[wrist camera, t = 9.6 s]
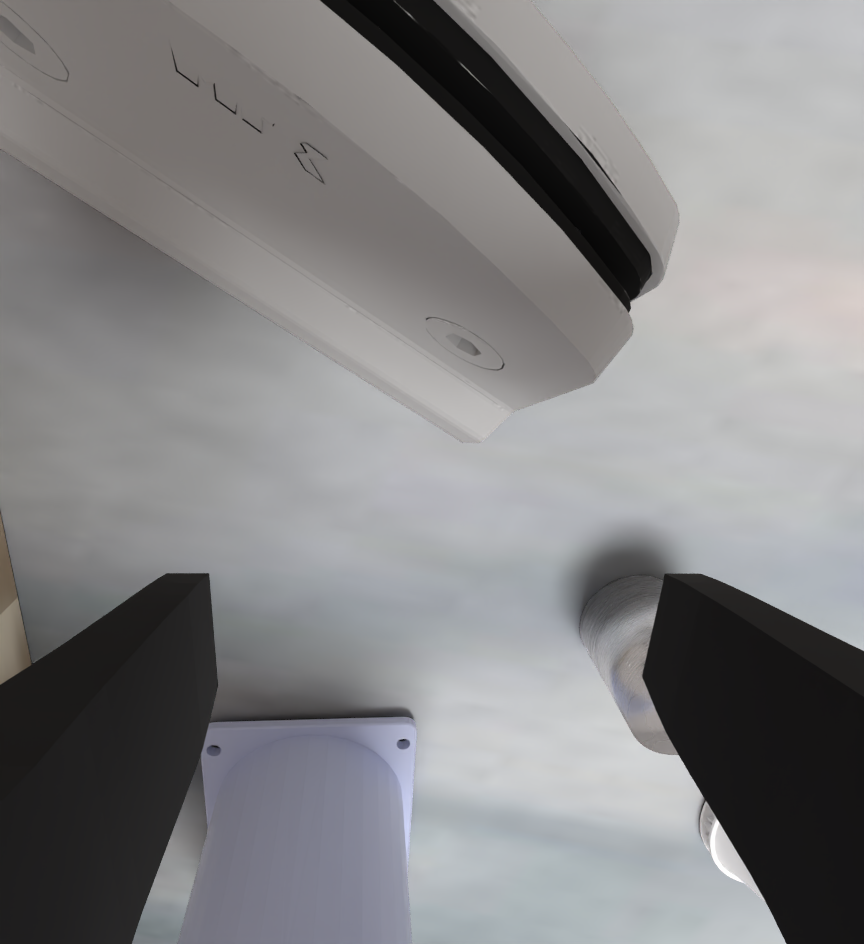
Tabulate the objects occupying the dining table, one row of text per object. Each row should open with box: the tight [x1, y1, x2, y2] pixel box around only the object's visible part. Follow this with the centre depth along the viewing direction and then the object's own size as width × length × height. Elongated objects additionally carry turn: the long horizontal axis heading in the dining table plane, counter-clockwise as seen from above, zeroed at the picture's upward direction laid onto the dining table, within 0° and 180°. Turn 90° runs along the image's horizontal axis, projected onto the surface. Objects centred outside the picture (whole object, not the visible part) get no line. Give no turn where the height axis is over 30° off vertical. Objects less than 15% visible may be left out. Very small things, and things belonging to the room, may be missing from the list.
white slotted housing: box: [0, 0, 679, 443], centre depth 13 cm, size 17×5×10 cm, turn 56°
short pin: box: [580, 575, 678, 755], centre depth 21 cm, size 4×4×4 cm
